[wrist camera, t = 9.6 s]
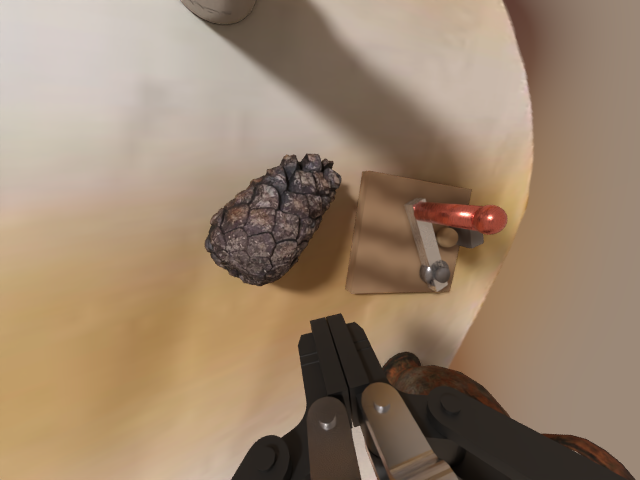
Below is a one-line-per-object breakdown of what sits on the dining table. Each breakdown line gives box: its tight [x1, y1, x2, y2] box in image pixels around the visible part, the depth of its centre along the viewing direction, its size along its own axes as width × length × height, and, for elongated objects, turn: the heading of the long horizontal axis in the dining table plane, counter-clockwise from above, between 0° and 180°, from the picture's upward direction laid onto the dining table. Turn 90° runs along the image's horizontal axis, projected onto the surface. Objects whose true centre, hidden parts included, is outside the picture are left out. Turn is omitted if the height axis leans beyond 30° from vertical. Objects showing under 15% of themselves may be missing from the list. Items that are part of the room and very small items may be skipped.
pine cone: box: [205, 154, 341, 286], centre depth 29 cm, size 10×18×10 cm, turn 140°
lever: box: [404, 198, 507, 292], centre depth 34 cm, size 16×4×14 cm, turn 24°
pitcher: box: [382, 352, 635, 480], centre depth 34 cm, size 17×21×30 cm
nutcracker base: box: [345, 171, 484, 294], centre depth 39 cm, size 18×20×6 cm
